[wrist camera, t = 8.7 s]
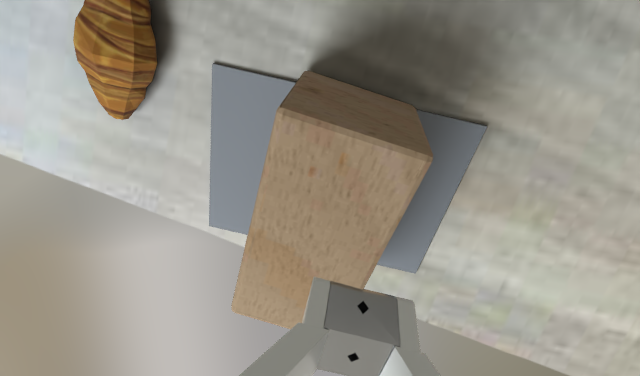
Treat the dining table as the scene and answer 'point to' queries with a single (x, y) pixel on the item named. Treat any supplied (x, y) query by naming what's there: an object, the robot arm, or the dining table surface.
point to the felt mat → (252, 143)
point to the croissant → (116, 52)
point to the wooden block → (327, 194)
